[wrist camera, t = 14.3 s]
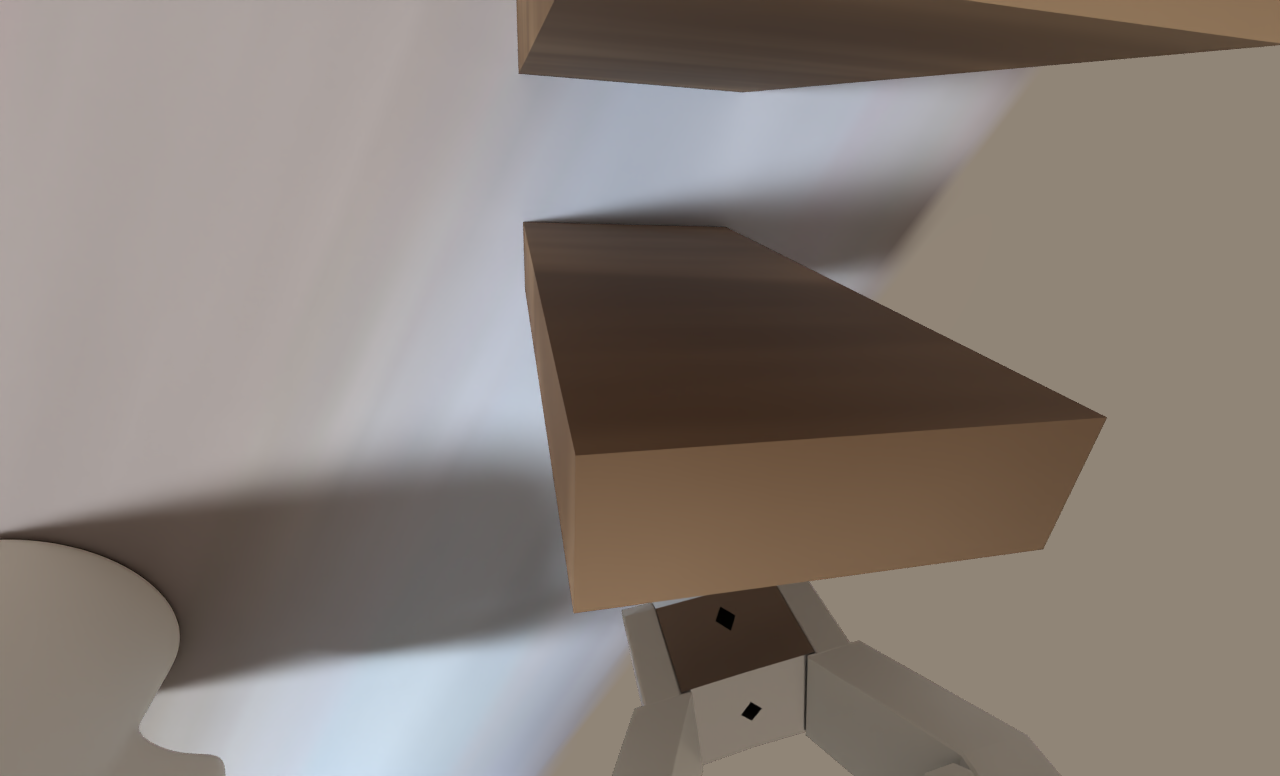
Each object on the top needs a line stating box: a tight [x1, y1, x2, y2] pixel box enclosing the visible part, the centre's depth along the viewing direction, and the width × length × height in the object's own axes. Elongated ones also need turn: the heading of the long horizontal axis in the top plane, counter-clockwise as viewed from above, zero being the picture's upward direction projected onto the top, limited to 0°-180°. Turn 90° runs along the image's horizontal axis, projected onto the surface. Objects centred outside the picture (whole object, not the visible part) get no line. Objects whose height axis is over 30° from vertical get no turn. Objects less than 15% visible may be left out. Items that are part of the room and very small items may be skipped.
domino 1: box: [523, 222, 1107, 613], centre depth 9 cm, size 2×5×10 cm, turn 86°
